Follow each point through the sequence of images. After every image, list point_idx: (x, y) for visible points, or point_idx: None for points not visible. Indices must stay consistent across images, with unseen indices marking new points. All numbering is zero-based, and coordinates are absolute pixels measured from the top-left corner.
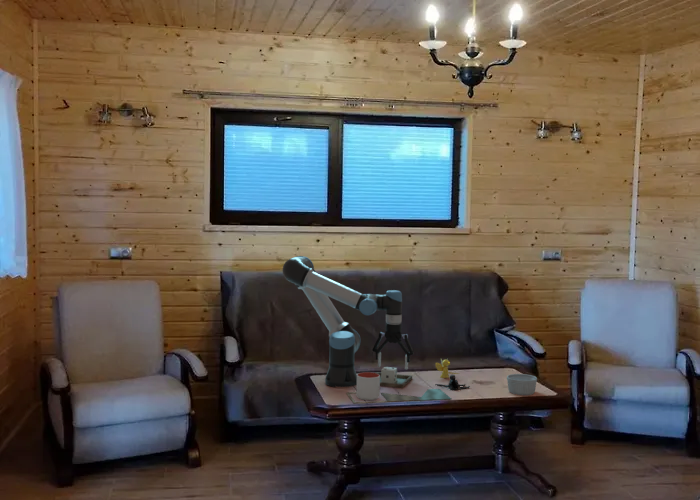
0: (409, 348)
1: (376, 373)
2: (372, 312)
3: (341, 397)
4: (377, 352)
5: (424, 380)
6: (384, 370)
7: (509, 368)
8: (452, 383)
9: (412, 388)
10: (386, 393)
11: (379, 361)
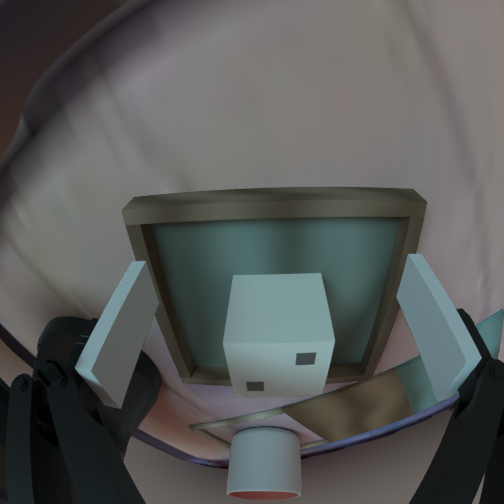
0: (497, 459)
1: (283, 491)
2: None
3: (199, 440)
4: (95, 410)
5: (478, 179)
6: (257, 394)
7: None
8: None
9: (408, 340)
10: (312, 416)
11: (143, 337)
